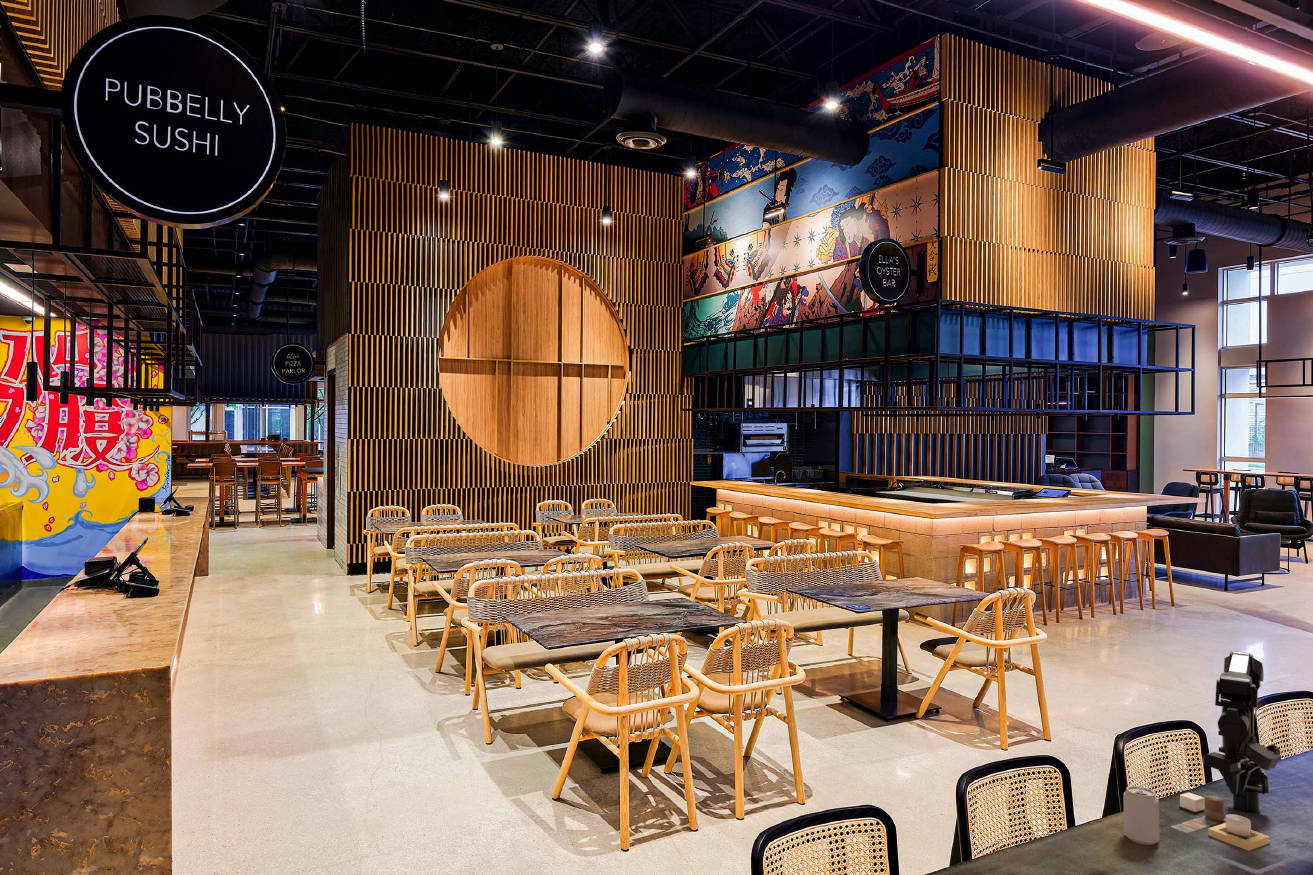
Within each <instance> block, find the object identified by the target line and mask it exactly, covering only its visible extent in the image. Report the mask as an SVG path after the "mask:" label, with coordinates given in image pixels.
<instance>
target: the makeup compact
mask: <svg viewBox="0 0 1313 875" xmlns="http://www.w3.org/2000/svg"><path fill="white" fill-rule="evenodd" d="M1224 822H1226V818H1224V821H1222V822H1217V821H1212V820H1209V819H1207V818H1206V817H1205V815H1203V816H1200V817H1196V818H1193V819H1191V820H1186V821H1184V822H1181V823H1177V824H1174V825H1170V828H1172V829H1174V830H1177V831H1180V832H1183V833H1186V834H1189V833H1191V832H1195V831H1198V830H1200V829H1204V828H1207V827H1210V826H1213V825H1214V826H1215V825H1217V824H1219V823H1220V824H1221V823H1224Z"/></svg>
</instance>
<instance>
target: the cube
mask: <svg viewBox="0 0 1313 875" xmlns="http://www.w3.org/2000/svg"><path fill="white" fill-rule="evenodd" d="M1179 806H1180V807H1181V808H1184V809H1186V810H1189V811H1191V812H1194V813H1197V812H1200V811H1203V810H1204V811H1205V797H1204V796H1200V795H1197V794H1194V793H1191V792H1189V791H1188V792H1185V793H1182V794H1180V795H1179Z"/></svg>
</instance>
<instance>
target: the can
mask: <svg viewBox="0 0 1313 875" xmlns="http://www.w3.org/2000/svg"><path fill="white" fill-rule="evenodd" d="M1125 789H1126V790H1125V791H1124V792H1123V795H1122V796H1123V797H1122V798H1123V833H1124V835H1125V836H1126V837H1127V839H1129V841H1132V842H1134V843H1136V844H1140V845H1145V846H1152V845H1155V844H1156V843H1158V842H1159V841H1160V802H1159V801H1160V800H1159V798H1158V797H1157V796H1156V792H1155V791H1153V790H1152V789H1150V788H1148V787H1147V788H1146V787H1144V786H1139V785H1138V786H1137V785H1130V786H1127V787H1126V788H1125Z"/></svg>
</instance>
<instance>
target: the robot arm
mask: <svg viewBox="0 0 1313 875" xmlns="http://www.w3.org/2000/svg"><path fill="white" fill-rule="evenodd" d="M1223 661H1224V662H1223V663H1224V664H1223V672H1221V674H1220V676H1219V678H1218V679H1216V684H1215V702H1214V705H1215V707H1221V713H1220V715H1219V718H1218V721H1217V727H1218V730H1217V731H1218V732H1217V734H1218V736H1221V738H1222V746H1220V747H1218V752H1217V751H1213V752H1210V753H1208V752H1207V753H1206V754H1203V755H1202V765H1203V766H1205V767H1208V768H1211V769H1215V770H1218V772H1219V773H1220V775H1221V776H1222V779H1223V780H1224V782H1225V785H1226V787H1228V789H1229V791H1230V793H1231V794H1232V809H1233V810H1235V811H1238V812H1240V813H1243V814H1244V813H1245V814H1247V813H1251V814H1252V813H1253V814H1258V813H1260V810H1261V809H1260V808H1261V806H1260V794H1262V795H1266V794H1269V788H1270V787H1269V777H1268V775H1267V774H1266V773H1265V771H1269V770H1270V769H1275V768H1276V767H1277V764H1278V762H1281V761H1282V754H1281V751H1280V750H1281V749H1280V747H1279V746H1277V745H1276V744H1274V743H1271V744H1269V745H1267V746H1266V745H1265V744H1260V743H1258V742H1257V737H1256V735H1255V713H1254V712H1255V708H1258V698H1259V697H1258V696H1259V693H1258V692H1259V689H1261V687H1262V686H1261V685H1262V683H1263V682H1264V677H1265V676H1264V674H1265V673H1264V666H1263V662H1261V661H1260V660H1258V659H1256V658H1254V655H1253V654H1251V653H1249V652H1242V651H1235V650H1233V651H1230V652H1229V655H1228V656H1225V657H1224V660H1223ZM1261 682H1262V683H1261Z"/></svg>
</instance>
